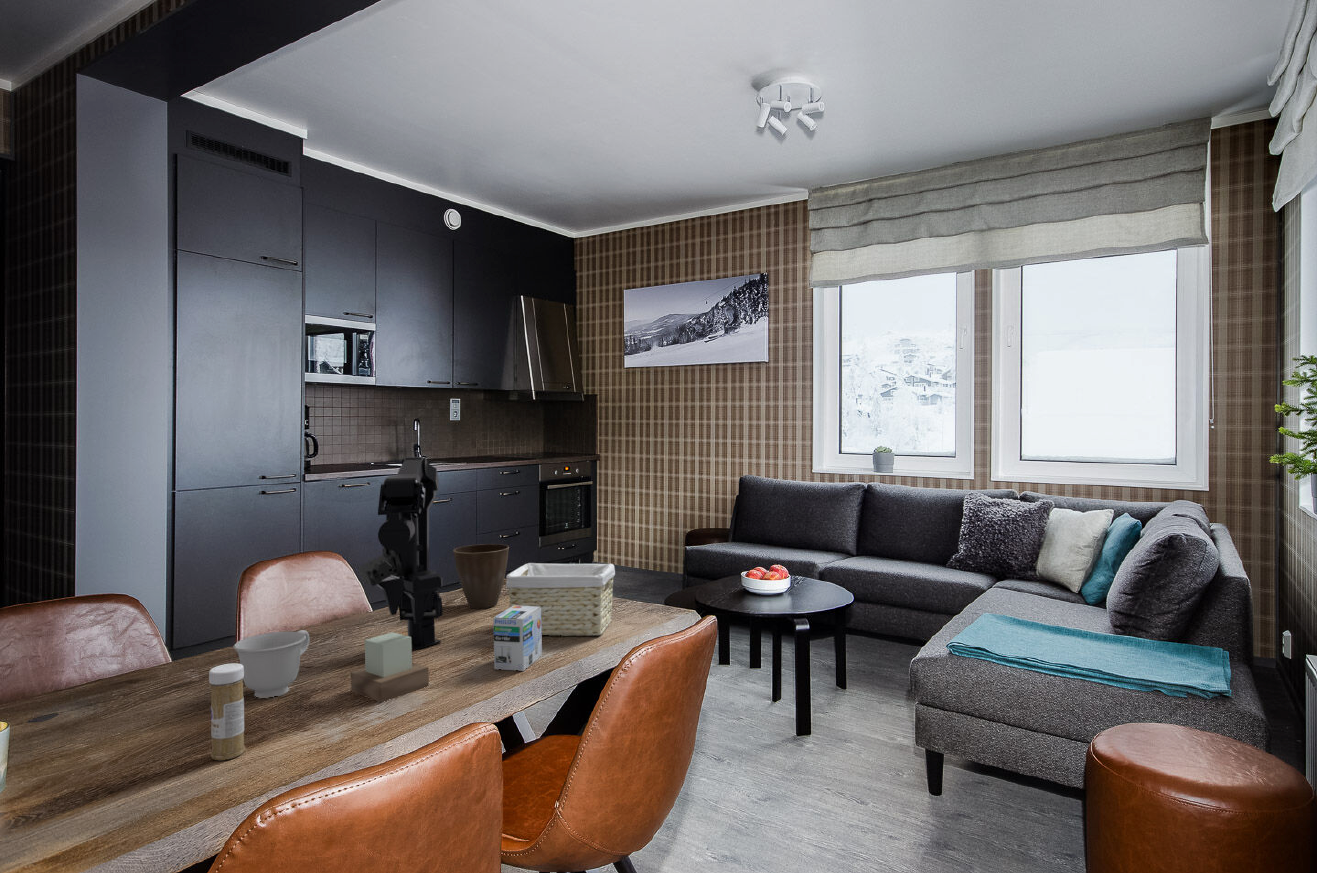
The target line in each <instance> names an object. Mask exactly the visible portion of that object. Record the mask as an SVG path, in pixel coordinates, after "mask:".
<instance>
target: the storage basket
mask: <svg viewBox="0 0 1317 873" xmlns="http://www.w3.org/2000/svg"><path fill="white" fill-rule="evenodd" d="M615 575H616V569H615V565H614V564H613V563H541V562H540V563H536V562H528V563H525V564H523V565H521V566H519V567H518V568H516V569H515V570H513V571H511V572H510V573H508V574H507V575H505V578H506V583H505V586H506V588H507V590H508V597H509V608H510V607H511V606H513V605H518V606H535V607H541V632H542V635H549V636H560V635H561V637H570V636H578V637H581V636H588V637H590V636H600V635H602V634H603V633H604V632H605V631H606V629H607V628H608V627H609V625H610V623H611V622H612V610H613V590H614V588H613V586H614V577H615Z"/></svg>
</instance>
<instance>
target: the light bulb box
mask: <svg viewBox="0 0 1317 873" xmlns="http://www.w3.org/2000/svg"><path fill="white" fill-rule="evenodd" d="M492 620H493V621H492V622H493V657H494V658H493V660H494V664H493V665H494V670H499V669H501V670H503V671H516V670H518V671H520V672H524V671H525V670H526V668H527V669H528V668H529V667H530V666H531V665H533V664H534V663H535V662H536V661H538V658H539V657H540V656H541V655H542V656H543V642H542V641H543V640H542V638H543V637H542V632H541V607H535V606H518V605H513V606H511V607H510V606H509V608H507V609H505V610H504V611H502V612H499V614H497V615H496V616H494V617H493V618H492ZM542 656H541V657H542ZM541 657H540V658H541ZM540 658H539V659H540ZM501 670H500V671H501Z"/></svg>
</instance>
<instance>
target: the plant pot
mask: <svg viewBox="0 0 1317 873" xmlns="http://www.w3.org/2000/svg"><path fill="white" fill-rule="evenodd" d="M509 548H510V546H509V545H507V544H502V543H501V544H500V543H485V544H484V543H483V544H471V545H470V544H469V545H464V546H460V547H459V546H458V547H456V548H454V549H453V551H452V552H453V555H454V556H453V557H454V562H455V567H456V572H457V575H458V579H459V582H460V586H461V589H462V591H463V592H462V593H463V595H464V596H465V599H466V602H467V604H468V606H470V607H471V609H474V608H484V609H489V607H490V608H493V606H494V607H496V606H497V605H498V602H499V599H500V596H501V594H502V589H503V585H504V582H505V578H506V571H507V567H508V566H507V565H508V559H509V550H510V549H509ZM495 605H496V606H495ZM470 607H469V608H470Z"/></svg>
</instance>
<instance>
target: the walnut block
mask: <svg viewBox="0 0 1317 873" xmlns="http://www.w3.org/2000/svg"><path fill="white" fill-rule="evenodd" d="M429 681H430V680H429V667H428V666H424V665H421V664H420V663H419V664H418V663H415V662H412V669H409V670H406V671H402V672H399V673H396V674H393V675H390V676H387V677H381V676H378V675H375V674H372V673H368V672H365V667H363V668H360V669H356V670H354V671H350V692H351V691H352V693H354V694H357V695H359V696H363V697H365V696H367V697H369V698H368V699H370V698H371V699H370V700H373V699H374V700H373V701H375V700H376V702H378V701H379V703H381V702H382V703H384V701H385V702H387V700H388V701H390V700H389V699H391V700H393V699H392V698H394V699H396V697H397V698H399V697H398V696H400V697H402V696H405V695H408V694H411V693H414V692H416V690H417V691H419V690H422V689H425V688H428V687H429V685H430V684H429ZM427 686H428V687H427ZM424 687H425V688H424ZM413 691H414V692H413ZM367 697H366V698H367Z"/></svg>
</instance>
